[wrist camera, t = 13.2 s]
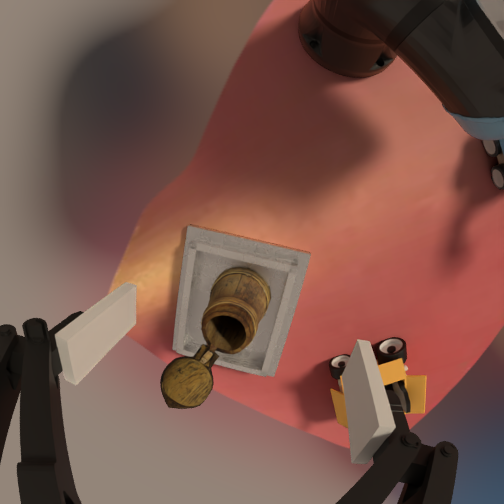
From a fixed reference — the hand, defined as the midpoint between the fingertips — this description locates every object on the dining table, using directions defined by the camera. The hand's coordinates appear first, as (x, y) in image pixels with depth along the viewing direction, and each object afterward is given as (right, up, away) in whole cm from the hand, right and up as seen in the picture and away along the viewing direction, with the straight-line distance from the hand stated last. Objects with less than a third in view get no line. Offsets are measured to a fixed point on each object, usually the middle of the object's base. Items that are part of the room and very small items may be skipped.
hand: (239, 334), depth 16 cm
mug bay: (-2, -4, +30) cm, 30 cm away
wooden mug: (-2, -4, +29) cm, 29 cm away
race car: (+22, -18, +31) cm, 42 cm away
